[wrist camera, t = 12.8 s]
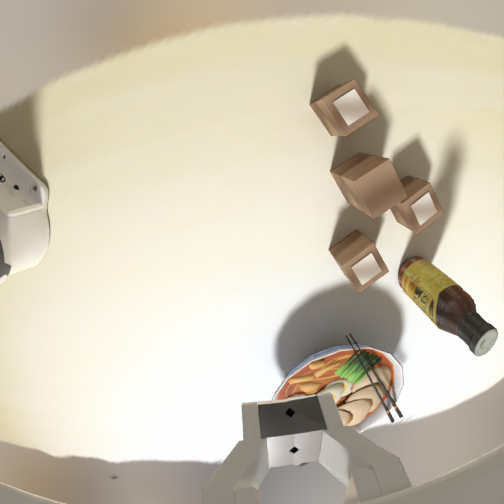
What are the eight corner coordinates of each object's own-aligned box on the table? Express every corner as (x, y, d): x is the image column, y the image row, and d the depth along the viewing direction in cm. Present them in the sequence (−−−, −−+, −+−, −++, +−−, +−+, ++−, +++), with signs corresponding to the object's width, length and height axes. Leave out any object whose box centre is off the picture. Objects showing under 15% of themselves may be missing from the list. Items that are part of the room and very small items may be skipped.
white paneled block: (328, 249, 45) (342, 266, 39) (357, 228, 44) (375, 242, 38) (344, 274, 47) (359, 293, 41) (372, 254, 46) (390, 271, 40)
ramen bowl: (235, 360, 51) (237, 395, 43) (361, 289, 48) (382, 316, 40) (303, 432, 59) (310, 462, 51) (402, 379, 56) (418, 406, 48)
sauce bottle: (390, 271, 47) (462, 343, 28) (419, 247, 46) (500, 307, 27) (405, 298, 49) (471, 372, 30) (433, 276, 48) (506, 339, 29)
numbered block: (309, 104, 38) (322, 99, 32) (339, 85, 37) (357, 77, 31) (330, 135, 40) (347, 136, 34) (360, 115, 39) (380, 113, 33)
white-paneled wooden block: (382, 194, 43) (403, 203, 37) (408, 174, 42) (431, 181, 36) (397, 221, 44) (418, 234, 38) (422, 202, 43) (445, 212, 38)
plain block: (329, 171, 41) (354, 181, 33) (359, 152, 40) (389, 158, 32) (347, 202, 43) (373, 219, 34) (375, 183, 42) (407, 196, 34)
